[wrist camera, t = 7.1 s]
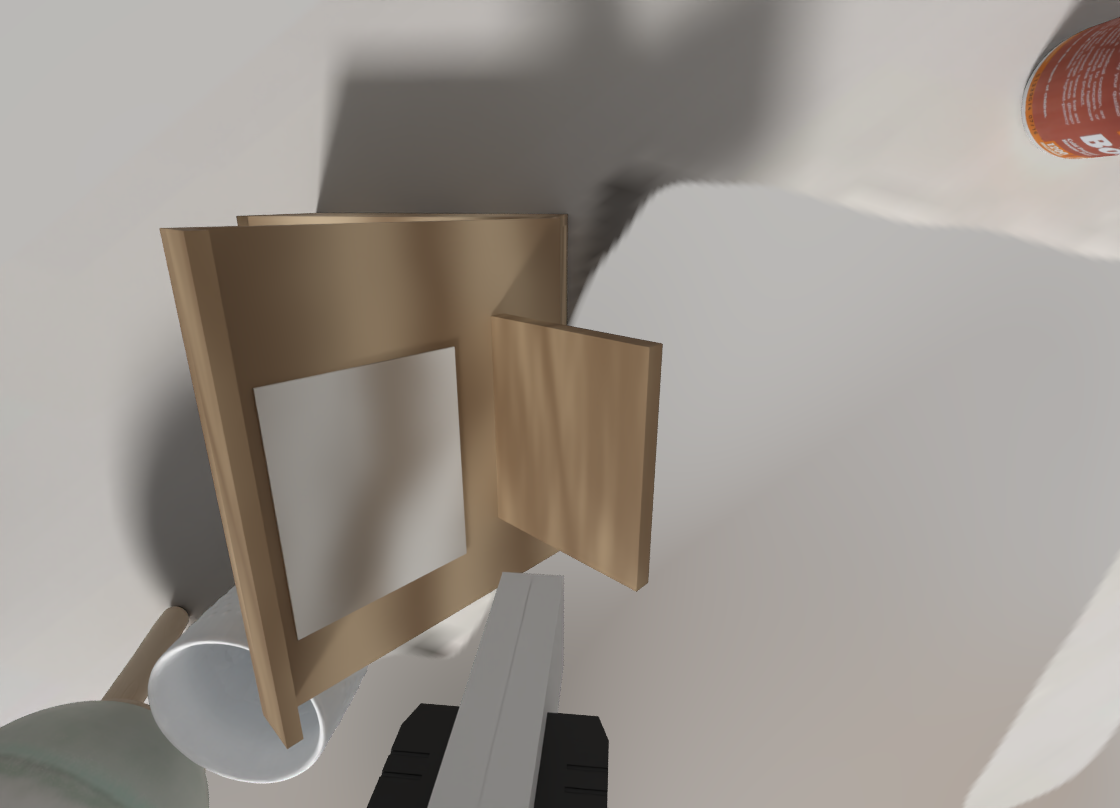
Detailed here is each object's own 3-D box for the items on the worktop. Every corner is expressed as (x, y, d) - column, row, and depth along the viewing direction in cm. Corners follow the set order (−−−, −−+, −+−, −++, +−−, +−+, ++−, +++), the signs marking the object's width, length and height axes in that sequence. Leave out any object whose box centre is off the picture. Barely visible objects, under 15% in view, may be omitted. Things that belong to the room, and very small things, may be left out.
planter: (134, 558, 48) (-252, 839, 27) (322, 620, 48) (82, 949, 27) (127, 700, 53) (-199, 1024, 32) (294, 755, 53) (78, 1116, 32)
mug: (278, 661, 50) (164, 812, 38) (208, 555, 47) (59, 681, 35) (430, 616, 47) (359, 766, 34) (364, 500, 44) (261, 617, 31)
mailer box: (348, 471, 43) (289, 528, 35) (315, 212, 37) (236, 216, 30) (566, 482, 41) (552, 545, 34) (567, 214, 35) (551, 217, 28)
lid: (263, 714, 23) (388, 894, 17) (159, 228, 17) (296, 243, 11) (551, 546, 34) (688, 620, 28) (550, 217, 28) (723, 222, 22)
